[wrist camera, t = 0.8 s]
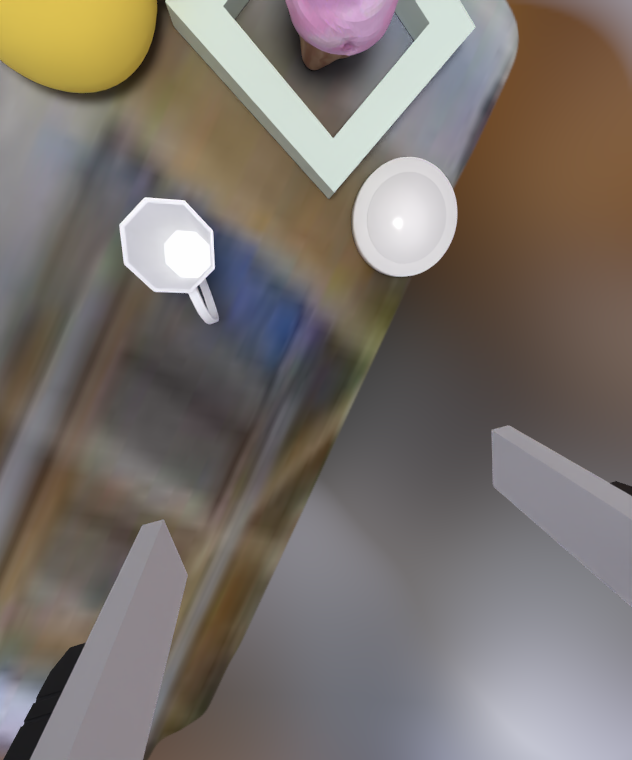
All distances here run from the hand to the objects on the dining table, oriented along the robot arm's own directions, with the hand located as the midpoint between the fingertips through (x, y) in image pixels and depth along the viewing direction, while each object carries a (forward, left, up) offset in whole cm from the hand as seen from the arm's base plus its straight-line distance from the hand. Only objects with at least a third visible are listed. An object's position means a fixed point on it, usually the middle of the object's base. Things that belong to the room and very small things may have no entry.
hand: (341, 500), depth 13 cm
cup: (-13, +1, -25) cm, 28 cm away
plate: (-1, +19, -25) cm, 31 cm away
